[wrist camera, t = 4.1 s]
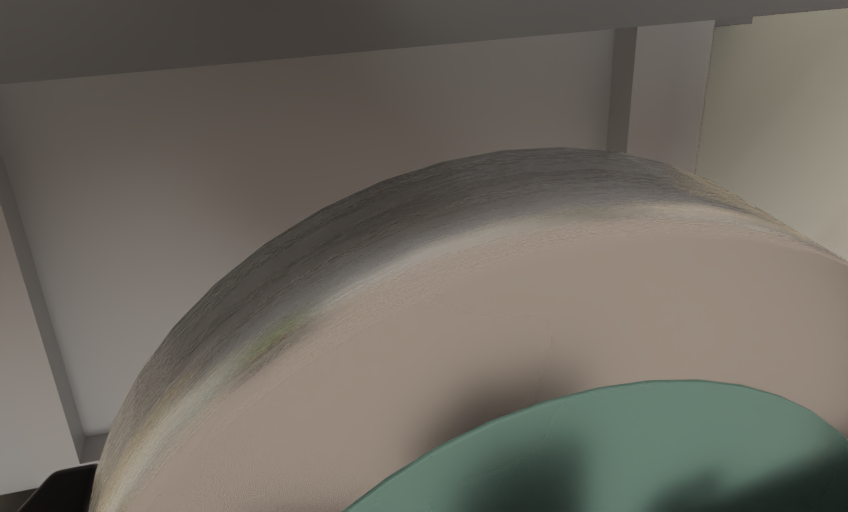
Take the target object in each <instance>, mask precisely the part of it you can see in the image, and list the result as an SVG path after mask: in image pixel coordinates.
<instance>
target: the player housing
mask: <svg viewBox="0 0 848 512" xmlns="http://www.w3.org/2000/svg"><path fill="white" fill-rule="evenodd" d="M841 8H848V0H0V84H11V83H22V82H33V81H44V80H55V79H66V78H77V77H88V76H99V75H111V74H122V73H133V72H144V71H155V70H166V69H177V68H188V67H199V66H210V65H221V64H232V63H243V62H254V61H265V60H276V59H288V58H299V57H310V56H321V55H332V54H343V53H354V52H365V51H376V50H387V49H398V48H409V47H420V46H431V45H442V44H453V43H465V42H476V41H487V40H498V39H509V38H520V37H531V36H542V35H553V34H564V33H575V32H586V31H597V30H608V29H619V28H630V27H642V26H653V25H664V24H675V23H686V22H697V21H708V20H715V26H714V27H718V26H729V25H739V24H750V23H752V18H753V16H763V15H774V14H785V13H796V12H808V11H819V10H830V9H841Z"/></svg>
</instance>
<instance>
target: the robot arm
mask: <svg viewBox="0 0 848 512" xmlns="http://www.w3.org/2000/svg"><path fill="white" fill-rule="evenodd" d="M97 466H98V464H96V463H95V464H88V465H83V466H78V467H72V468H67V469H62V470H58V471H55V472H54V473H52V474H51V475H50V476H49V477H48V478H47V479H46V480H45V481H44V482H43V483H42V484H41V485H40V486H39V487H38V489H37V490H36V491H35V492H34V493H33V494H32V495H31V496H30V497H29V499H28V500H27V501H26V502H25V503H24V504H23V505H22V506H21V507H20V509H19V510H18V511H17V512H88V511H89V506H90V500H91V494H92V489H93V483H94V477H95V472H96V469H97Z"/></svg>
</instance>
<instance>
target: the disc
mask: <svg viewBox="0 0 848 512" xmlns="http://www.w3.org/2000/svg"><path fill="white" fill-rule="evenodd" d="M88 512H848V262H847V261H846V260H844V259H842V258H841V257H839V256H837V255H836V254H834V253H832V252H830V251H829V250H827V249H825V248H824V247H822V246H820V245H819V244H817V243H815V242H813V241H812V240H810V239H808V238H807V237H805V236H803V235H802V234H800V233H798V232H796V231H795V230H793V229H791V228H790V227H788V226H786V225H785V224H783V223H781V222H780V221H778V220H776V219H774V218H773V217H771V216H769V215H768V214H766V213H764V212H763V211H761V210H759V209H757V208H756V207H754V206H752V205H751V204H749V203H747V202H746V201H744V200H742V199H740V198H739V197H737V196H735V195H734V194H732V193H730V192H729V191H727V190H725V189H723V188H722V187H720V186H718V185H717V184H715V183H713V182H712V181H709V180H707V179H704V178H702V177H699V176H697V175H695V174H692V173H690V172H687V171H685V170H683V169H680V168H678V167H675V166H673V165H670V164H668V163H664V162H660V161H656V160H651V159H647V158H643V157H639V156H634V155H630V154H626V153H622V152H617V151H605V150H593V149H581V148H569V147H553V148H534V149H516V150H502V151H497V152H491V153H486V154H481V155H475V156H470V157H465V158H459V159H454V160H448V161H443V162H440V163H437V164H434V165H430V166H427V167H424V168H421V169H418V170H415V171H412V172H409V173H405V174H402V175H399V176H396V177H393V178H390V179H387V180H383V181H381V182H378V183H376V184H374V185H372V186H370V187H368V188H365V189H363V190H361V191H359V192H357V193H355V194H352V195H350V196H348V197H346V198H344V199H341V200H339V201H337V202H335V203H333V204H331V205H328V206H326V207H324V208H322V209H320V210H319V211H317V212H315V213H314V214H312V215H310V216H309V217H307V218H306V219H304V220H302V221H301V222H299V223H298V224H296V225H294V226H293V227H291V228H289V229H288V230H286V231H285V232H283V233H281V234H280V235H278V236H276V237H275V238H273V239H272V240H270V241H268V242H267V243H265V244H264V245H263V246H261V247H260V248H259V249H258V250H256V251H255V252H254V253H253V254H251V255H250V256H249V257H248V258H246V259H245V260H244V261H243V262H241V263H240V264H239V265H238V266H236V267H235V268H234V269H233V270H231V271H230V272H229V273H228V274H227V275H225V276H224V277H223V278H222V279H220V280H219V281H218V282H217V283H215V284H214V285H213V286H212V287H211V288H210V290H209V291H208V292H207V293H206V294H205V295H204V296H203V297H202V298H201V299H200V300H199V301H198V302H197V303H196V304H195V305H194V306H193V307H192V308H191V309H190V310H189V311H188V312H187V313H186V314H185V315H184V316H183V318H182V319H181V320H180V321H179V322H178V323H177V324H176V325H175V326H174V327H173V328H172V329H171V331H170V332H169V333H168V335H167V336H166V337H165V339H164V340H163V342H162V343H161V344H160V346H159V347H158V348H157V350H156V351H155V352H154V354H153V355H152V357H151V358H150V359H149V361H148V362H147V363H146V365H145V366H144V367H143V369H142V370H141V372H140V373H139V374H138V376H137V378H136V380H135V381H134V383H133V385H132V387H131V389H130V391H129V393H128V395H127V397H126V398H125V400H124V402H123V404H122V406H121V408H120V410H119V412H118V414H117V415H116V417H115V419H114V421H113V423H112V425H111V428H110V431H109V434H108V437H107V440H106V443H105V446H104V449H103V452H102V455H101V457H100V460H99V463H98V466H97V469H96V472H95V477H94V483H93V489H92V494H91V500H90V506H89V511H88Z"/></svg>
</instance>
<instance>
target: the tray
mask: <svg viewBox="0 0 848 512" xmlns="http://www.w3.org/2000/svg"><path fill="white" fill-rule="evenodd" d="M714 26H715V20H708V21H697V22H686V23H675V24H664V25H653V26H642V27H630V28H619V29H608V30H597V31H586V32H575V33H564V34H553V35H542V36H531V37H520V38H509V39H498V40H487V41H476V42H465V43H453V44H442V45H431V46H420V47H409V48H398V49H387V50H376V51H365V52H354V53H343V54H332V55H321V56H310V57H299V58H288V59H276V60H265V61H254V62H243V63H232V64H221V65H210V66H199V67H188V68H177V69H166V70H155V71H144V72H133V73H122V74H111V75H99V76H88V77H77V78H66V79H55V80H44V81H33V82H22V83H11V84H0V512H17V511H18V510H19V509H20V507H21V506H22V505H23V504H24V503H25V502H26V501H27V500H28V499H29V497H30V496H31V495H32V494H33V493H34V492H35V491H36V490H37V489H38V487H39V486H40V485H41V484H42V483H43V482H44V481H45V480H46V479H47V478H48V477H49V476H50V475H51V474H52V473H54V472H55V471H58V470H62V469H67V468H72V467H78V466H83V465H88V464H95V463H96V464H98V463H99V460H100V457H101V455H102V452H103V449H104V446H105V443H106V440H107V437H108V434H109V431H110V428H111V425H112V423H113V421H114V419H115V417H116V415H117V414H118V412H119V410H120V408H121V406H122V404H123V402H124V400H125V398H126V397H127V395H128V393H129V391H130V389H131V387H132V385H133V383H134V381H135V380H136V378H137V376H138V374H139V373H140V372H141V370H142V369H143V367H144V366H145V365H146V363H147V362H148V361H149V359H150V358H151V357H152V355H153V354H154V352H155V351H156V350H157V348H158V347H159V346H160V344H161V343H162V342H163V340H164V339H165V337H166V336H167V335H168V333H169V332H170V331H171V329H172V328H173V327H174V326H175V325H176V324H177V323H178V322H179V321H180V320H181V319H182V318H183V316H184V315H185V314H186V313H187V312H188V311H189V310H190V309H191V308H192V307H193V306H194V305H195V304H196V303H197V302H198V301H199V300H200V299H201V298H202V297H203V296H204V295H205V294H206V293H207V292H208V291H209V290H210V288H211V287H212V286H213V285H214V284H215V283H217V282H218V281H219V280H220V279H222V278H223V277H224V276H225V275H227V274H228V273H229V272H230V271H231V270H233V269H234V268H235V267H236V266H238V265H239V264H240V263H241V262H243V261H244V260H245V259H246V258H248V257H249V256H250V255H251V254H253V253H254V252H255V251H256V250H258V249H259V248H260V247H261V246H263V245H264V244H265V243H267V242H268V241H270V240H272V239H273V238H275V237H276V236H278V235H280V234H281V233H283V232H285V231H286V230H288V229H289V228H291V227H293V226H294V225H296V224H298V223H299V222H301V221H302V220H304V219H306V218H307V217H309V216H310V215H312V214H314V213H315V212H317V211H319V210H320V209H322V208H324V207H326V206H328V205H331V204H333V203H335V202H337V201H339V200H341V199H344V198H346V197H348V196H350V195H352V194H355V193H357V192H359V191H361V190H363V189H365V188H368V187H370V186H372V185H374V184H376V183H378V182H381V181H383V180H387V179H390V178H393V177H396V176H399V175H402V174H405V173H409V172H412V171H415V170H418V169H421V168H424V167H427V166H430V165H434V164H437V163H440V162H443V161H448V160H454V159H459V158H465V157H470V156H475V155H481V154H486V153H491V152H497V151H502V150H516V149H534V148H553V147H569V148H581V149H593V150H605V151H617V152H622V153H626V154H630V155H634V156H639V157H643V158H647V159H651V160H656V161H660V162H664V163H668V164H670V165H673V166H675V167H678V168H680V169H683V170H685V171H687V172H690V173H692V174H695V171H696V164H697V156H698V148H699V141H700V133H701V125H702V118H703V110H704V102H705V95H706V87H707V79H708V72H709V64H710V56H711V49H712V41H713V33H714Z"/></svg>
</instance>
